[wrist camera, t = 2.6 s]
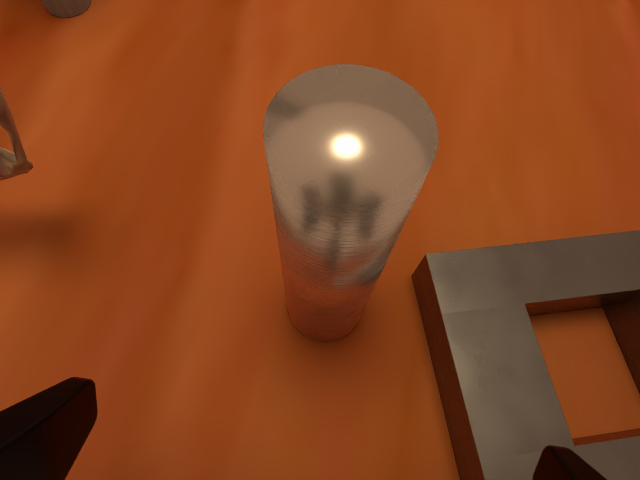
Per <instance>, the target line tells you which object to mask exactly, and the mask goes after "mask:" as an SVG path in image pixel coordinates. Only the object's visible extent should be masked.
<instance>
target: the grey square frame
mask: <svg viewBox="0 0 640 480" xmlns="http://www.w3.org/2000/svg"><path fill="white" fill-rule="evenodd" d="M412 279H413V283H414V287H415V291H416V295H417V300H418V304H419V308H420V312H421V316H422V321H423V325H424V329H425V333H426V337H427V341H428V346H429V350H430V354H431V358H432V362H433V367H434V371H435V375H436V379H437V383H438V387H439V392H440V396H441V400H442V404H443V408H444V413H445V417H446V421H447V425H448V429H449V433H450V438H451V442H452V446H453V450H454V454H455V459H456V463H457V467H458V471H459V475H460V479H461V480H532V478H533V473H534V471H535V468H536V466H537V463H538V461H539V458H540V456H541V453H542V451H543V449H544V447H546V446H547V445H553V446H560V447H566V448H569V449H571V450H572V451H573V452H575V453H576V454H577V455H578V456H580V457H581V458H582V459H583V460H584V461H586V462H587V463H588V464H589V465H590V466H592V467H593V468H594V469H595V470H596V471H598V472H599V473H600V474H601V475H602V476H604V477H605V478H606V479H607V480H640V429H634V430H628V431H621V432H615V433H608V434H602V435H595V436H589V437H582V438H576V439H572V438H571V435H570V432H569V429H568V426H567V424H566V421H565V418H564V415H563V412H562V409H561V406H560V404H559V401H558V398H557V395H556V392H555V389H554V386H553V384H552V381H551V378H550V375H549V372H548V369H547V366H546V364H545V361H544V358H543V355H542V352H541V349H540V346H539V344H538V341H537V338H536V335H535V332H534V329H533V326H532V324H531V321H530V318H529V316H531V315H539V314H547V313H555V312H563V311H571V310H579V309H586V308H594V307H602V306H603V308H604V310H605V313H606V315H607V317H608V320H609V322H610V324H611V327H612V329H613V331H614V334H615V336H616V338H617V341H618V343H619V345H620V348H621V350H622V352H623V354H624V357H625V359H626V361H627V364H628V366H629V368H630V371H631V373H632V375H633V378H634V380H635V382H636V385H637V387H638V389H639V392H640V230H638V231H629V232H620V233H611V234H602V235H593V236H584V237H575V238H566V239H557V240H548V241H539V242H530V243H521V244H512V245H503V246H494V247H485V248H476V249H467V250H458V251H449V252H440V253H431V254H426V255H425V256H424V258H423V259H422V261H421V262H420V264H419V265H418V267H417V268H416V270H415V271H414V273H413V274H412Z"/></svg>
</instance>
